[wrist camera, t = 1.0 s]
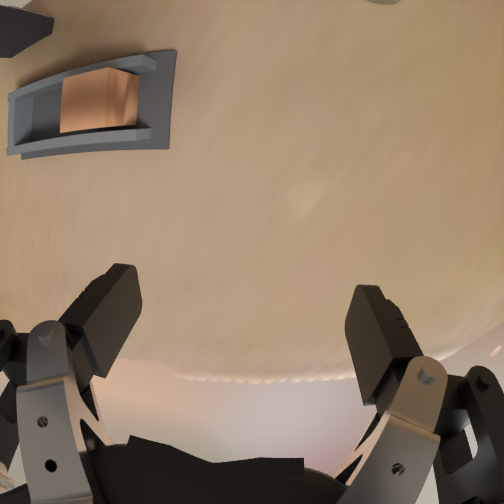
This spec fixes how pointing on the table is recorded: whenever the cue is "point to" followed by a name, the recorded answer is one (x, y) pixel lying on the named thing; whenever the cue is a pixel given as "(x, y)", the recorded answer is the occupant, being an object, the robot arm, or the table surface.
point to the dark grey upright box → (21, 29)
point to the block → (99, 100)
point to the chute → (98, 139)
